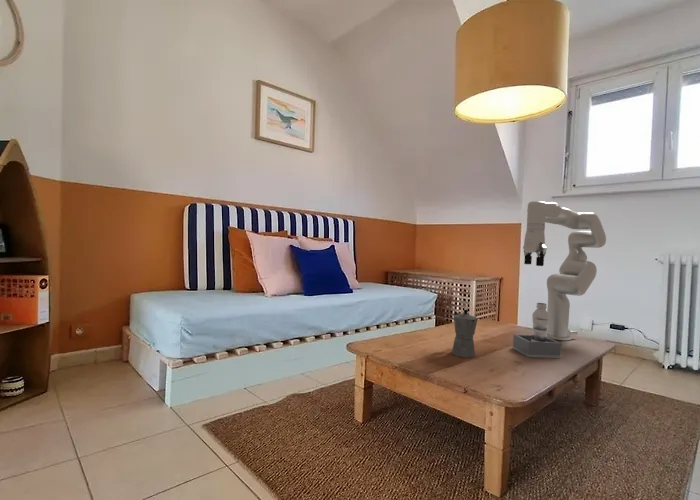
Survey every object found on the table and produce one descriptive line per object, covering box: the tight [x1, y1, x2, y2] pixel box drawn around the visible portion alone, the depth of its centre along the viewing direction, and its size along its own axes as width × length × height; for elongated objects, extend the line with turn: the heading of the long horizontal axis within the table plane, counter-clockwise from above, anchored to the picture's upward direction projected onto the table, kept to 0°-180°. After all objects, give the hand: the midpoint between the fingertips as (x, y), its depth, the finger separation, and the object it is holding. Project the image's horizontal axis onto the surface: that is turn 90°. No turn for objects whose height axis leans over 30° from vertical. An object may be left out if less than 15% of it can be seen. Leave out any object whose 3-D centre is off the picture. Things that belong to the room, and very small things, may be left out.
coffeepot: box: [451, 308, 478, 359], centre depth 150 cm, size 15×9×18 cm, turn 12°
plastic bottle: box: [531, 302, 549, 342], centre depth 155 cm, size 6×7×20 cm
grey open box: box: [512, 333, 562, 359], centre depth 156 cm, size 13×12×6 cm
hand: (533, 265), depth 173 cm, fingers open, 9 cm apart
